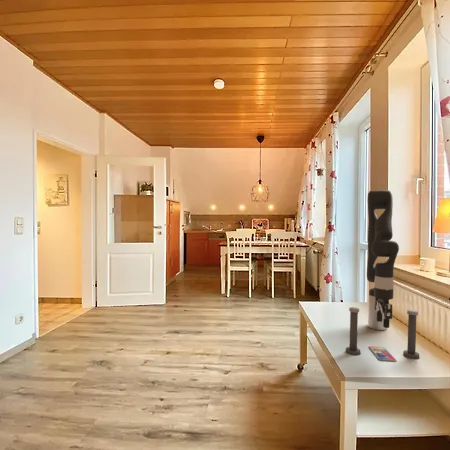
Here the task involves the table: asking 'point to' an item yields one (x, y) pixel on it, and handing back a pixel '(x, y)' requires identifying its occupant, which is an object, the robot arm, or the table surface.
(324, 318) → the table surface
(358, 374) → the table surface
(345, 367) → the table surface
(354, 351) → the knob
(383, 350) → the smartphone
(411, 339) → the post
